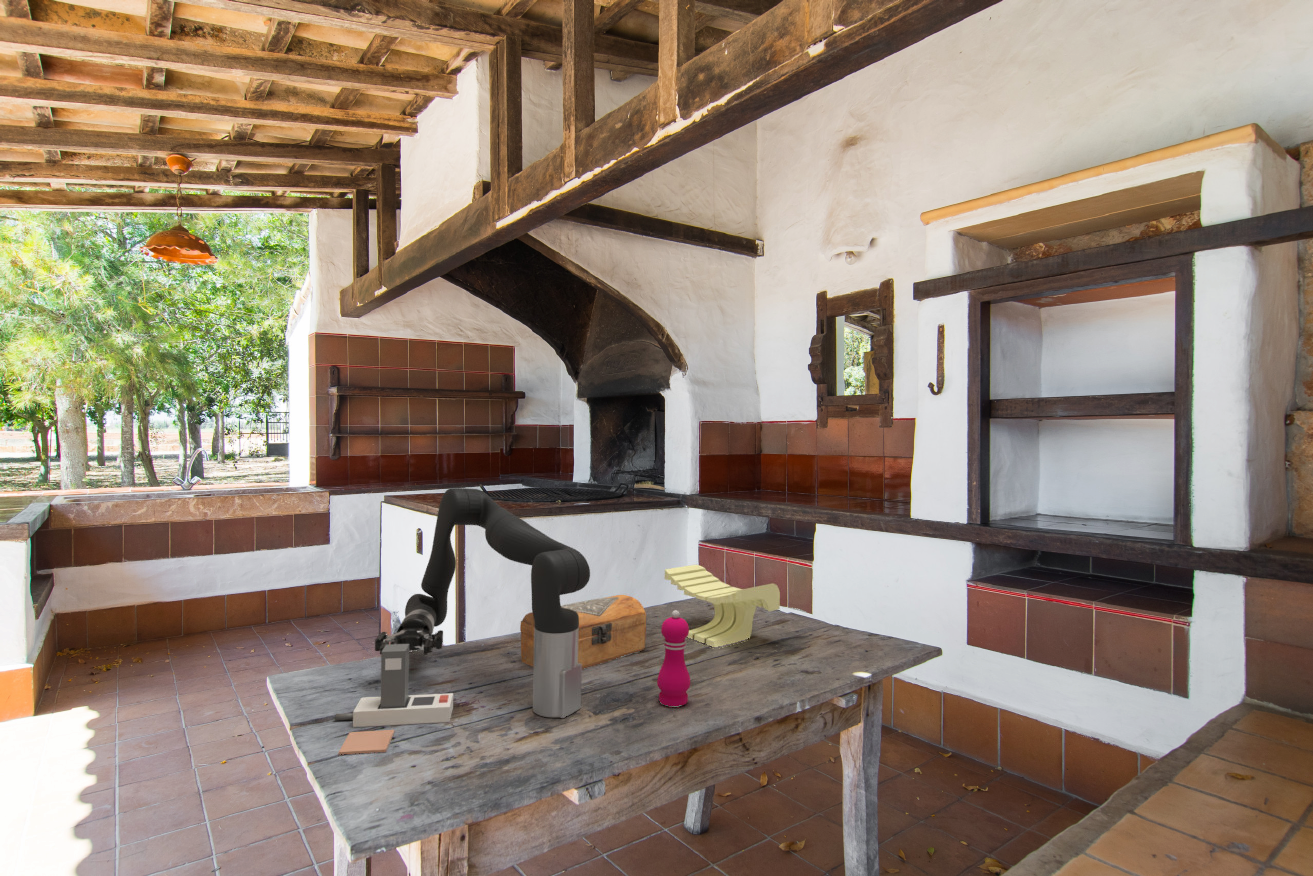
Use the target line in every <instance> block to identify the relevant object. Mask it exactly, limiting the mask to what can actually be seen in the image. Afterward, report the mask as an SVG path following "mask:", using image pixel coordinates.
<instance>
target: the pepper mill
mask: <svg viewBox="0 0 1313 876" xmlns="http://www.w3.org/2000/svg"><path fill="white" fill-rule="evenodd" d="M680 613H681V612H679V610H676V609H675V610H673V611H672V612H671V617H668V618H666V619H665V620H664V621H663V622H662V624H661V628H660V629H661V631H660V632H661V634H662V636H663V637H664V638H663V641H662V642H663V644H662V646H663V648H664V660H663V662H662V665H661V667H660V669H659V672H658V674H657V681H656V683H657V687H658V689H659V690H660V692H659V694H658V702H659V701H660V702H661V703H662V704H664V705H668V706H679V705H684V704H686V703H687V702H688V700H689V698H688V697H689V696H688V695H689V694H688V690H689V689H690V688H691V677H690V673H689V671H688V668H687V666H686V665H687V664H686V662H685V648H687V640H686V639H687V638H686V637H687V636H688V634H689V630H690V628H689V624H688V622H687V621H686V619H684V618H682V617H680V615H681V614H680ZM688 703H689V702H688ZM688 703H687V704H688ZM662 704H661V705H662ZM687 704H686V705H687Z"/></svg>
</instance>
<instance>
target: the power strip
mask: <svg viewBox="0 0 1313 876" xmlns="http://www.w3.org/2000/svg"><path fill="white" fill-rule="evenodd" d="M453 710H454V693H450V692H449V693H448V692H447V693H430V694H429V693H428V694H410V695H409V694H408V704H407V706H406V708H389V709H381V696H368V697H366V696H365V697H361V698H360V699H359V702H358V703H357V705H356V707H355V708H354V710H353V712H348V713H346V712H345V713H343V712H342V713H335V716H334V720H335V721H349V720H350V721H351V720H352V728H360V727H380V726H381V727H382V726H398V725H399V726H400V725H419V724H421V725H422V724H434V723H435V724H436V723H438V724H439V723H450V721H451V716H452V713H453Z"/></svg>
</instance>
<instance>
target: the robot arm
mask: <svg viewBox="0 0 1313 876" xmlns="http://www.w3.org/2000/svg"><path fill="white" fill-rule="evenodd" d="M439 502H440V503H439V506H438V511H437V516H436V524H435V529H434V534H433V535H434V536H433V542H432V547H431V552H430V556H429V560H428V563H427V565H426V568H425V571H424V574H423V577H422V579H421V583H420V588H421V589H422V591H423V592H424V593H425V594H427V595H425V594H422V593H415V594H413V595H411V596H410V597H409V599H407V602H406V605H405V607H404V608H405V609H404V616H405V617H404V618H403V620H402V622H401V623H400V625H399V626H398V628H397V631H396V632H394V633H393V634H389V635H388V632H386V631H381V632H380V633H379V635H378V636H377V637H376V638H375V639H374V651H375V652H379V654H380V655H381V654H382V650H383V649H384V647H385V646H386V645H389V644H409V651H417V650H423V656H428V654H430V653H431V652H432V651H433V650H434V648H435V649H437V650H440V649H443V645H444V644H443V643H444V631H443V630H441V629H440V630H438V631H437V632H435V633H434V630H435V627H436V628H437V627H439V626H441V625H442V624H443V623H444V622H445V620H446V617H447V614H448V597H449V596H448V594H449V589H450V585H451V584H452V580H453V578H454V574H455V571H456V566H457V559H456V555H455V552H454V549H453V545H452V540H451V538H452V537H451V535H452V532H453V530H454V527H455V526H477V527H480V528H482V529H484V530H485V531H484V536H485V540H486V542H487V544H488V546H489V547H490V548H491V549H492V550H494V552H496V553H498V554H499V555H501V556H502V557H503V558H505V559H508V560H510V561H512V562H515V563H519V564H524V565H527V566H528V565H529V566H531V570H530V571H531V573H530V584H531V588H530V589H531V612H533V617H534V664H533V667H532V668H533V670H532V671H533V673H532V677H533V678H532V712H533V713H535V714H536V715H538V716H540V717H545V718H561V719H564V718H567V717H568V716H570V715H572V714H573V713H575V712H577V711H579V710H580V709H581V708H582V678H583V677H582V671H583V669H582V664H581V663H578V634H579V616H578V614H577V612H575V611H573V610H571V609H567V608H562V607H561V606H562V605H561V596H562V595H567V594H572V593H576V592H578V591H580V590H583V588H585V587H586V586H587V584H588V583H589V581H590V578H591V569H590V566H589V563H588V561H587V559H586V556H584V555H583V554H582V553H581V552H580V551H578V550H577V549H575V548H573V547H571V546H569V545H567V544H564V543H562V542H559V541H557V540H555V539H553V538H551V537H550V536H549V535H547V534H545V533H543V532H542V531H540V530H538V529H537V528H535V527H533V525H531V524H529V523H528V522H527V521H525V520H523V519H522V518H520V517H519V516H517V515H515V514H513V513H512V512H510V511H509V510H507V509H506V508H504V507H502V506H501V505H499V504H498V503H497V501H496V500H495V499H494V500H493V498H492V497H491V496H490V495H488V494H487V493H486V492H485V491H483V490H481V489H477V488H465V487H464V488H463V487H462V488H461V487H450V488H448V489H446V491H444V493H443V495H442V497H441V499H440V501H439ZM566 716H567V717H566Z"/></svg>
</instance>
